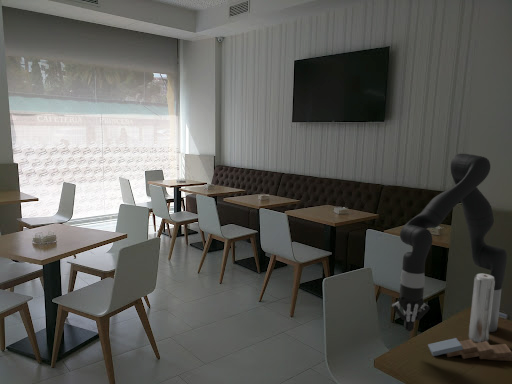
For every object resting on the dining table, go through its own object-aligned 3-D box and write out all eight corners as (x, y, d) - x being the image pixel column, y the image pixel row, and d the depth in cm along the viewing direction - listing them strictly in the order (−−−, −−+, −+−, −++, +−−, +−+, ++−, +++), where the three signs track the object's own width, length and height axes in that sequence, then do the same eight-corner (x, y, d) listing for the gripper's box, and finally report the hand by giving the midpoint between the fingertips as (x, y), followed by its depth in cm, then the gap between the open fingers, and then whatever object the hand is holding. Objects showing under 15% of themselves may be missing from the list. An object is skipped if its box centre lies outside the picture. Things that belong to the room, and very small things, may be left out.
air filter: (488, 337, 149) (495, 274, 146) (488, 345, 144) (495, 280, 140) (468, 332, 152) (475, 271, 149) (468, 340, 147) (474, 276, 143)
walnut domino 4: (487, 356, 134) (517, 358, 134) (480, 349, 139) (509, 350, 139) (486, 361, 134) (517, 362, 134) (479, 353, 139) (508, 354, 139)
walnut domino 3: (479, 355, 134) (511, 351, 132) (474, 346, 139) (505, 343, 136) (480, 359, 134) (512, 356, 132) (475, 351, 139) (506, 347, 137)
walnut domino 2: (461, 354, 134) (492, 348, 132) (456, 346, 139) (486, 340, 137) (463, 359, 134) (493, 353, 132) (458, 351, 139) (487, 345, 137)
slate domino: (428, 348, 141) (457, 341, 139) (433, 356, 136) (463, 349, 134) (427, 344, 141) (456, 337, 139) (432, 352, 136) (461, 345, 134)
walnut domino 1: (446, 353, 135) (476, 346, 133) (441, 345, 140) (470, 339, 138) (447, 357, 135) (477, 350, 134) (442, 349, 140) (471, 343, 139)
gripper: (396, 286, 131) (392, 335, 133) (436, 287, 130) (432, 336, 133) (389, 278, 138) (386, 324, 141) (427, 279, 138) (423, 325, 141)
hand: (408, 330), depth 137 cm, fingers closed
